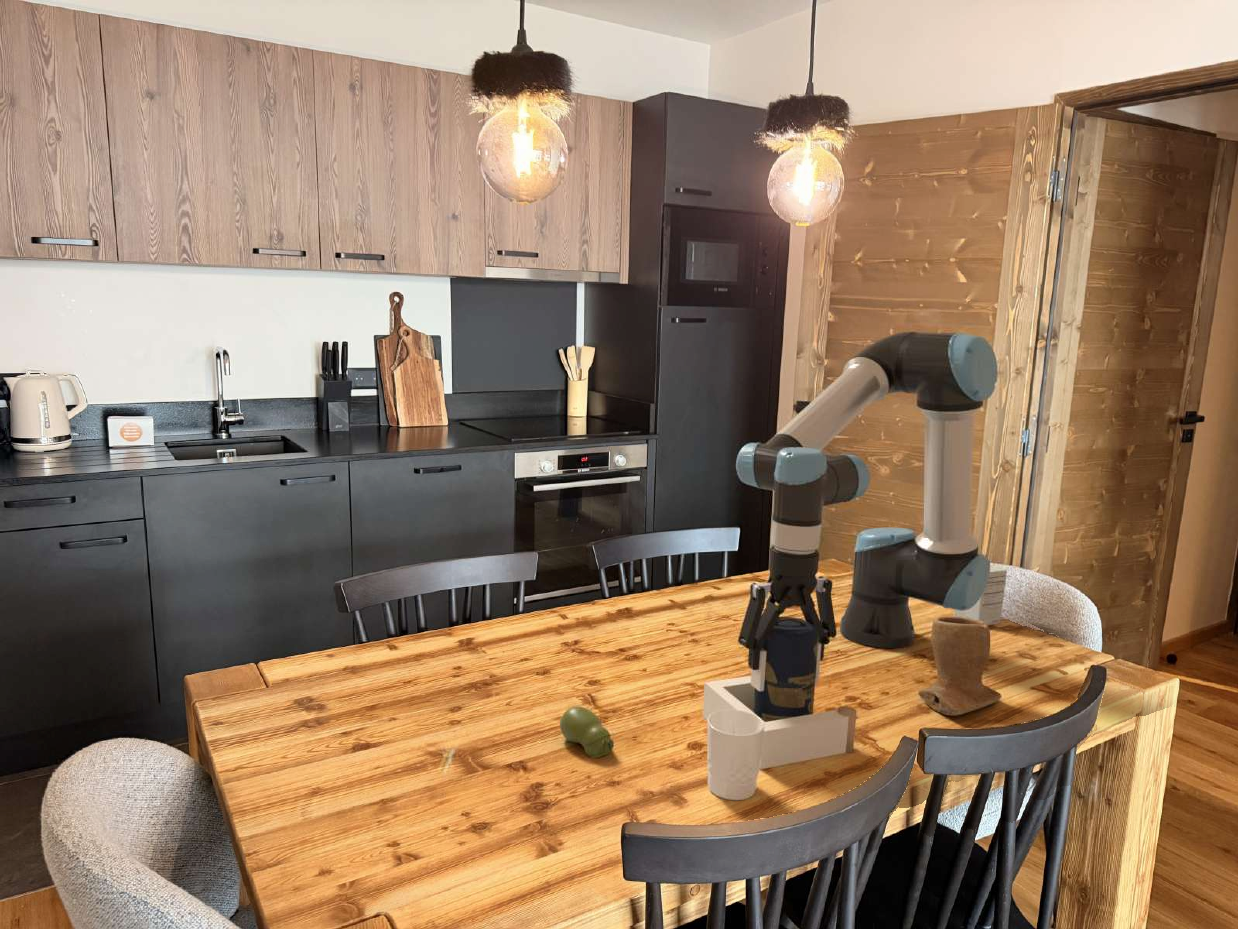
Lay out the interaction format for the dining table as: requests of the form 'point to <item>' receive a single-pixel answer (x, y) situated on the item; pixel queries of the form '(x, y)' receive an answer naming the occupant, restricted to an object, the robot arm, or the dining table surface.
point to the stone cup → (959, 666)
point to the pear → (586, 731)
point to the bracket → (786, 725)
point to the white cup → (733, 753)
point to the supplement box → (988, 599)
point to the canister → (788, 671)
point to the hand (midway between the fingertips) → (784, 683)
